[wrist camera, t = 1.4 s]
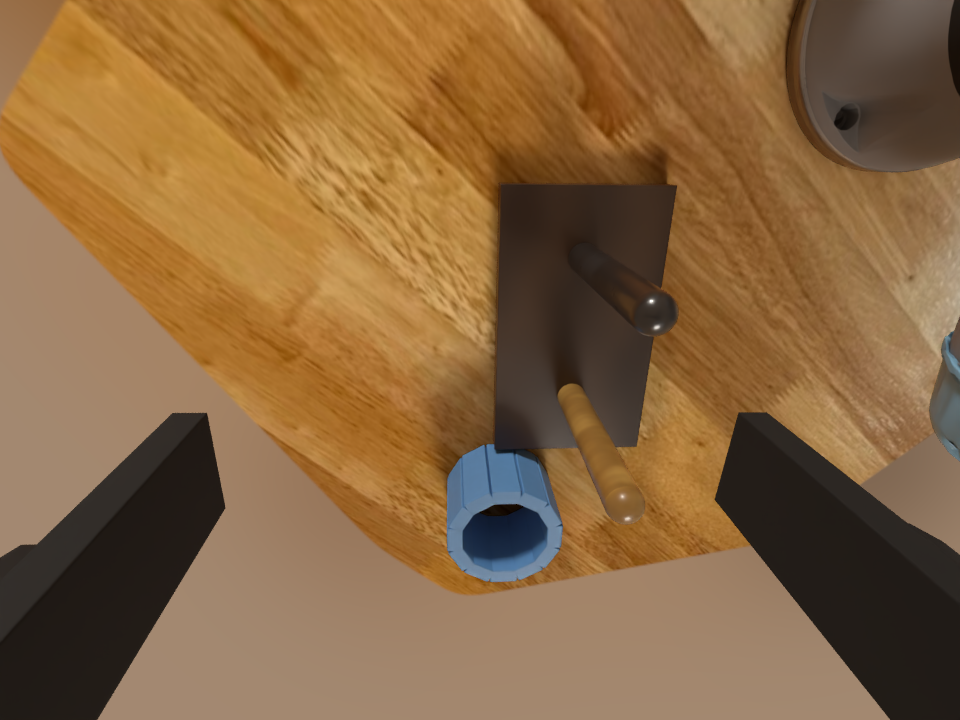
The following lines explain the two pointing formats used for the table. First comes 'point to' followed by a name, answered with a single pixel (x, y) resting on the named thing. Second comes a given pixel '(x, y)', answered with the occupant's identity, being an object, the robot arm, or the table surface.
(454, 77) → the table surface
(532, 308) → the peg stand
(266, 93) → the table surface
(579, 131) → the table surface
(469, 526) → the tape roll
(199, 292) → the table surface
